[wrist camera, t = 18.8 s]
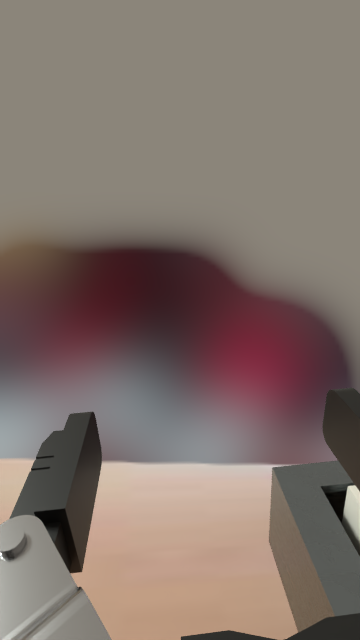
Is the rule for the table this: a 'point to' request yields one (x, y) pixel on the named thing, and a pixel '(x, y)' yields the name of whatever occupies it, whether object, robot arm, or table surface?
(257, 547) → the table surface
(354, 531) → the tall white rectangular block
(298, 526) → the box
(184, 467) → the table surface
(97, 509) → the table surface
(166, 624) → the table surface
